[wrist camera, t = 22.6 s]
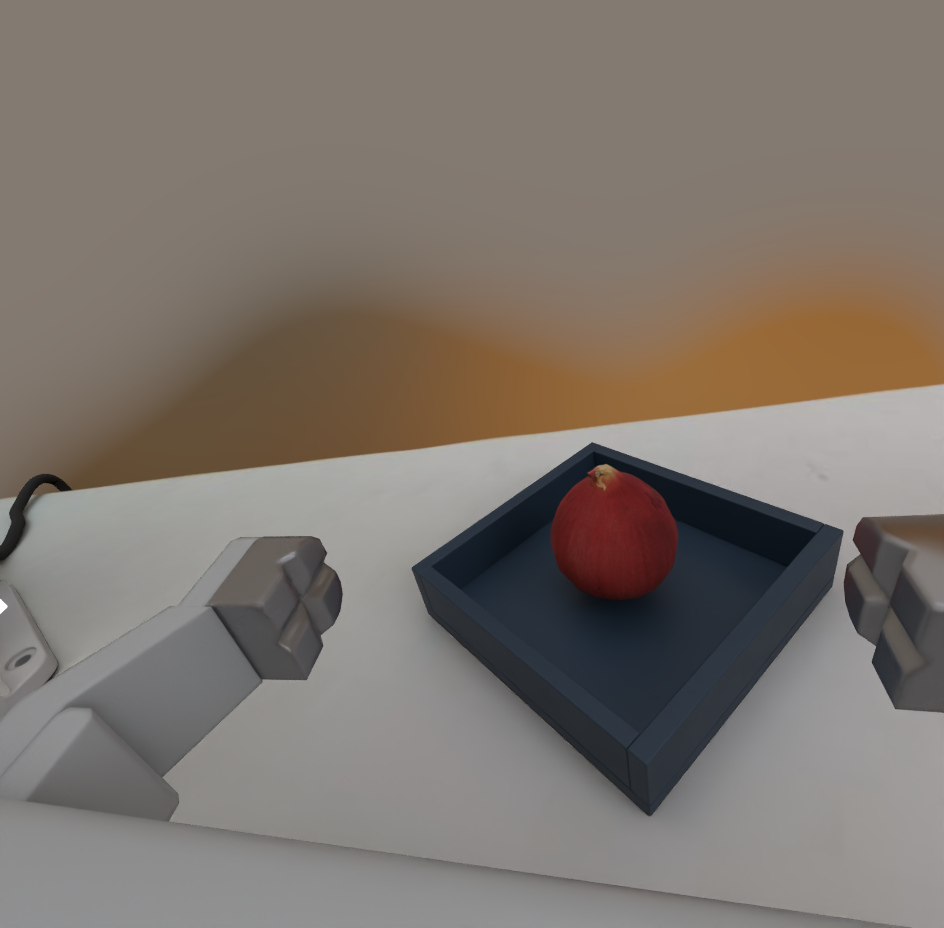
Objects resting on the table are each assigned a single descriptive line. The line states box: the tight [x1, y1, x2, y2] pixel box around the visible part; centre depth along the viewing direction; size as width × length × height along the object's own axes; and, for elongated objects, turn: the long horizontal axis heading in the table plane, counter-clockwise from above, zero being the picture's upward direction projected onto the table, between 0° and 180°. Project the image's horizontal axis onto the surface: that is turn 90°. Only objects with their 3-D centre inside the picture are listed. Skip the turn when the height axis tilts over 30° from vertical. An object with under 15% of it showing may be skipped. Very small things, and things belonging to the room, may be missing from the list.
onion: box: [550, 464, 678, 600], centre depth 25 cm, size 6×6×8 cm
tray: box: [412, 443, 843, 816], centre depth 27 cm, size 15×15×4 cm
